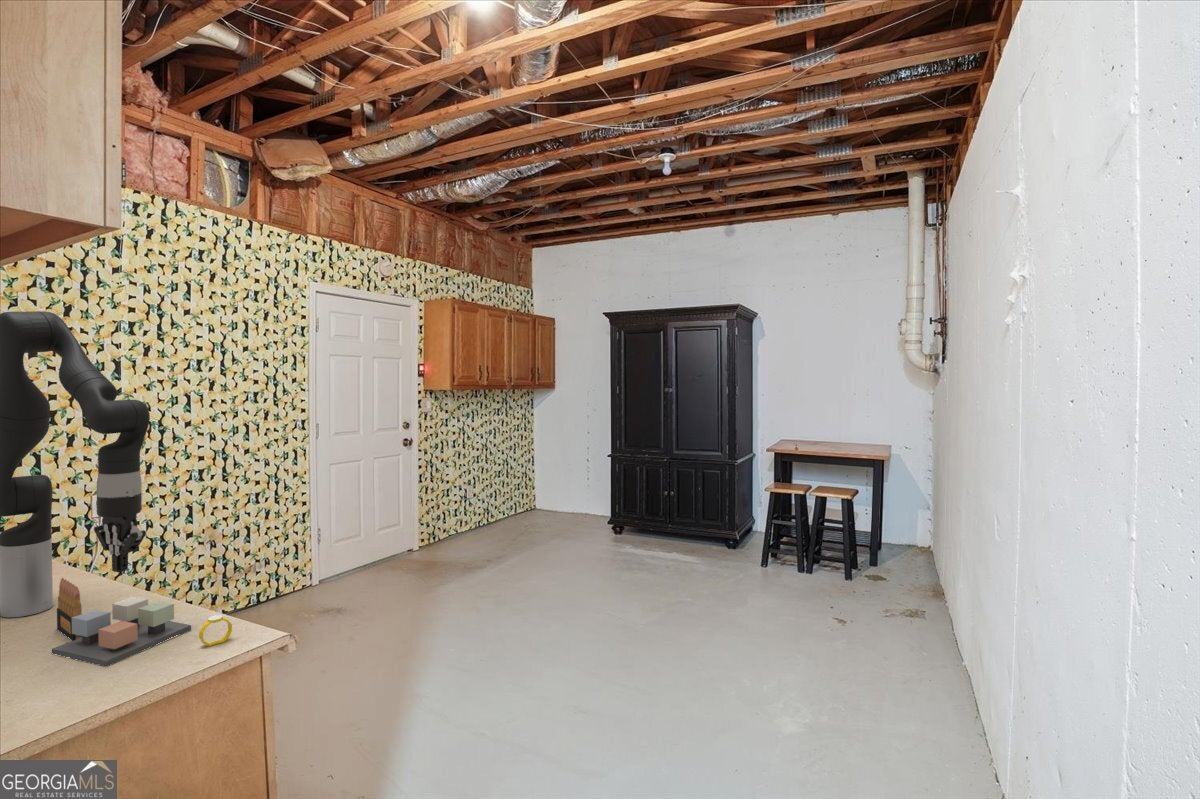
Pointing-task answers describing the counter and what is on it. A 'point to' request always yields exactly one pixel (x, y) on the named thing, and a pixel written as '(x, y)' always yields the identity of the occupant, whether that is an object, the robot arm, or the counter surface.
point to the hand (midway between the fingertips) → (120, 570)
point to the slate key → (90, 622)
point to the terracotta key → (118, 634)
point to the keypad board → (121, 653)
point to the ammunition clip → (68, 608)
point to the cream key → (128, 608)
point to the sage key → (155, 613)
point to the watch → (213, 620)
